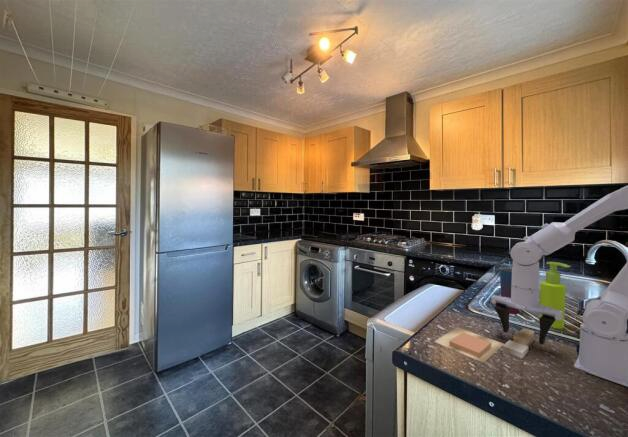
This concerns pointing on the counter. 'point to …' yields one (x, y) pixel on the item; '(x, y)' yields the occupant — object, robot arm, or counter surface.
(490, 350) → the cork mat
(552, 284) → the soap dispenser
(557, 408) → the counter surface
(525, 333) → the turner
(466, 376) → the counter surface
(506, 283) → the cup
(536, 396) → the counter surface
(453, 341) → the tile
